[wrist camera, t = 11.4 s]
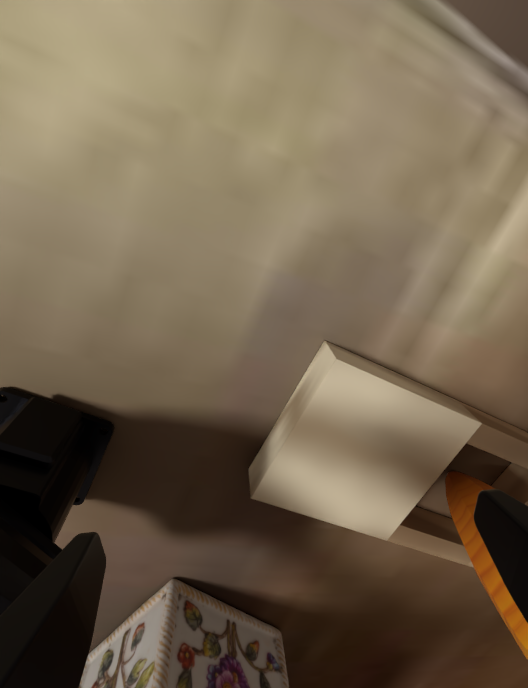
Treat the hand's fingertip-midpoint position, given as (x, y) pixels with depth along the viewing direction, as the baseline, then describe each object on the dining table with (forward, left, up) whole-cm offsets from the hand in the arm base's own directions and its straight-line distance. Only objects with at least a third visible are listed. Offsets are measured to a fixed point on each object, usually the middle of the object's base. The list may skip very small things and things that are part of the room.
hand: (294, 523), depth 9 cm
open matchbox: (-4, -13, -13) cm, 19 cm away
